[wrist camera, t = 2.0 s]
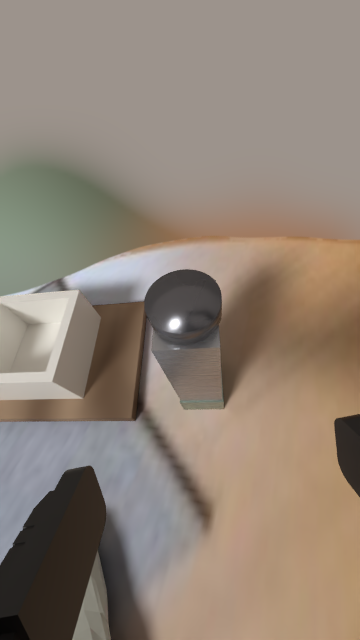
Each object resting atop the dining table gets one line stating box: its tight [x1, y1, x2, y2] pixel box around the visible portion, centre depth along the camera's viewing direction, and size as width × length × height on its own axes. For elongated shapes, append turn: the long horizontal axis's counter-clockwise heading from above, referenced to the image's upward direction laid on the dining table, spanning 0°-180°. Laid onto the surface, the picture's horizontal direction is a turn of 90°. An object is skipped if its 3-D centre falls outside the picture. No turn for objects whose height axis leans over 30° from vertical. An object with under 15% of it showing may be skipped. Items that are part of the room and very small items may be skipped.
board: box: [0, 302, 147, 422], centre depth 26 cm, size 16×12×1 cm
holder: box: [0, 290, 101, 400], centre depth 23 cm, size 9×9×5 cm
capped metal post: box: [144, 269, 224, 409], centre depth 17 cm, size 4×4×13 cm
